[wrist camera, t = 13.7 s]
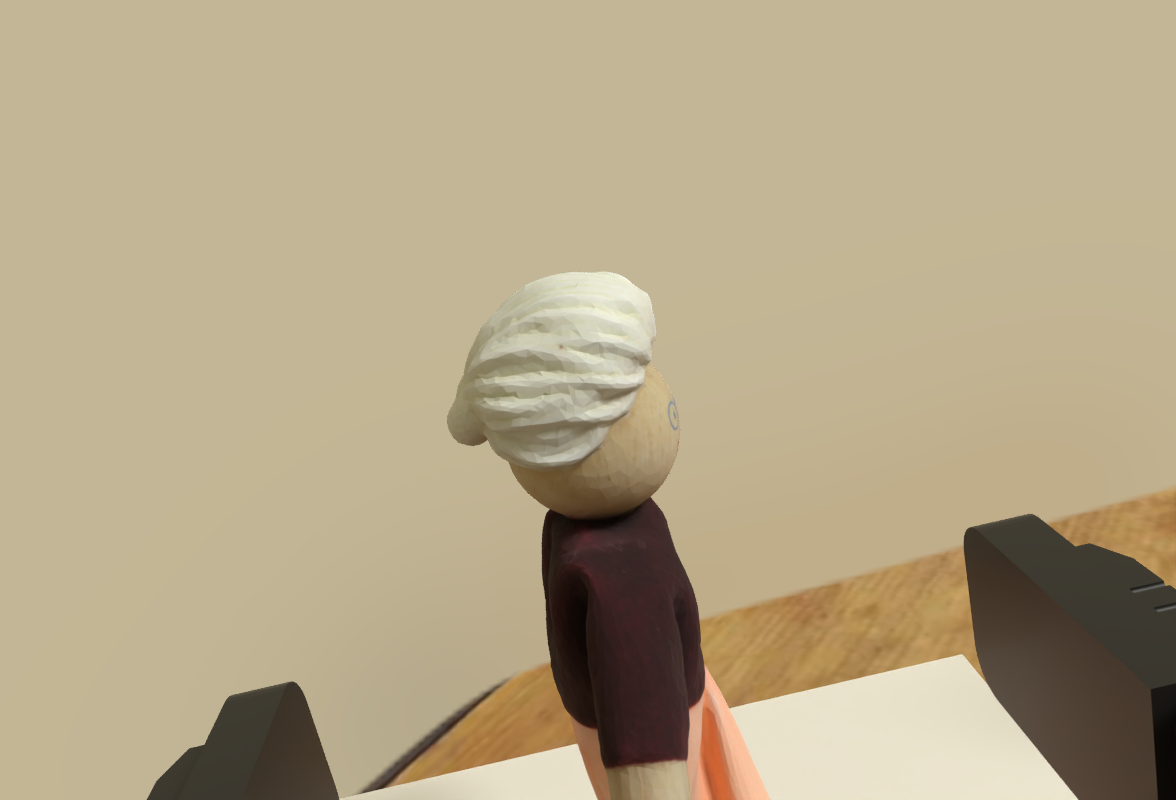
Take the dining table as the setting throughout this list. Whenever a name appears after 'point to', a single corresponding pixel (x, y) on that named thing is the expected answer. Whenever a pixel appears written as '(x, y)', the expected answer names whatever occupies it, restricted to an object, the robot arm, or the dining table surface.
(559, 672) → the grandmother figurine
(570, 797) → the stone slab
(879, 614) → the dining table surface
